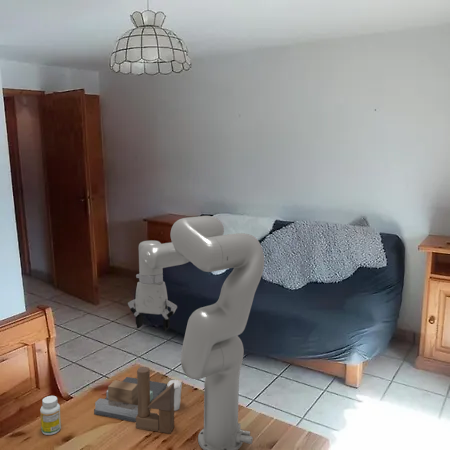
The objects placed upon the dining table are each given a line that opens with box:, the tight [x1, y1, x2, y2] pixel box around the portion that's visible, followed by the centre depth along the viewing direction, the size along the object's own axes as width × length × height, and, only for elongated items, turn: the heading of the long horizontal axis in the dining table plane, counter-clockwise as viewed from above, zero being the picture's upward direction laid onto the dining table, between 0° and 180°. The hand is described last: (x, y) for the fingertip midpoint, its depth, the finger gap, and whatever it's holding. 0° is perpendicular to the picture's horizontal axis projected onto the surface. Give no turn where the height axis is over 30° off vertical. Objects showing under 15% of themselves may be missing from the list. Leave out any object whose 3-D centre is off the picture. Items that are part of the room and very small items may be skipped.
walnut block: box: [107, 379, 138, 405], centre depth 142 cm, size 8×4×7 cm, turn 74°
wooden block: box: [135, 366, 175, 434], centre depth 133 cm, size 4×11×18 cm, turn 78°
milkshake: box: [166, 379, 184, 412], centre depth 144 cm, size 5×5×10 cm
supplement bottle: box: [39, 395, 62, 436], centre depth 132 cm, size 5×5×10 cm
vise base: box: [93, 376, 168, 423], centre depth 148 cm, size 15×21×4 cm
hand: (152, 328), depth 154 cm, fingers open, 9 cm apart
